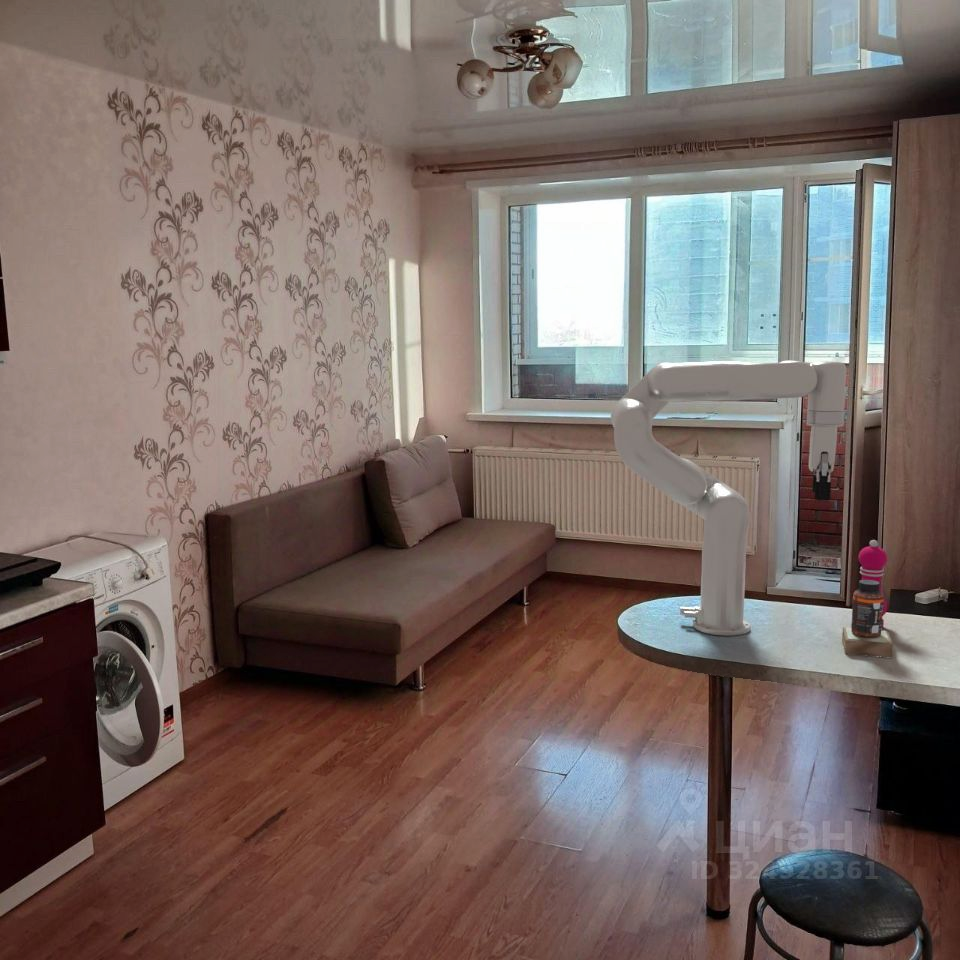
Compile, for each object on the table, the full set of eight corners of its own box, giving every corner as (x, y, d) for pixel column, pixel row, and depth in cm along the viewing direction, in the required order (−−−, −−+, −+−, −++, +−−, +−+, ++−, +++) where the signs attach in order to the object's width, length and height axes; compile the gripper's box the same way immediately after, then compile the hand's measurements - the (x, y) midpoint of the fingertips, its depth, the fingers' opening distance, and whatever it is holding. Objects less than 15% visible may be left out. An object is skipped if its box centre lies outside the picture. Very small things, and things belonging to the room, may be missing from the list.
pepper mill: (888, 631, 215) (894, 544, 212) (854, 629, 217) (859, 542, 213) (882, 622, 222) (887, 537, 219) (848, 620, 224) (854, 535, 220)
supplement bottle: (884, 639, 200) (887, 586, 198) (853, 637, 201) (856, 584, 199) (878, 630, 205) (881, 579, 204) (848, 629, 207) (851, 577, 205)
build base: (845, 654, 200) (845, 639, 200) (841, 640, 209) (842, 626, 208) (891, 658, 198) (892, 643, 197) (886, 644, 206) (887, 630, 206)
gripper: (805, 415, 219) (801, 489, 222) (808, 421, 203) (804, 502, 205) (840, 415, 217) (836, 491, 220) (846, 422, 201) (841, 503, 203)
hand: (820, 496), depth 212 cm, fingers open, 9 cm apart
